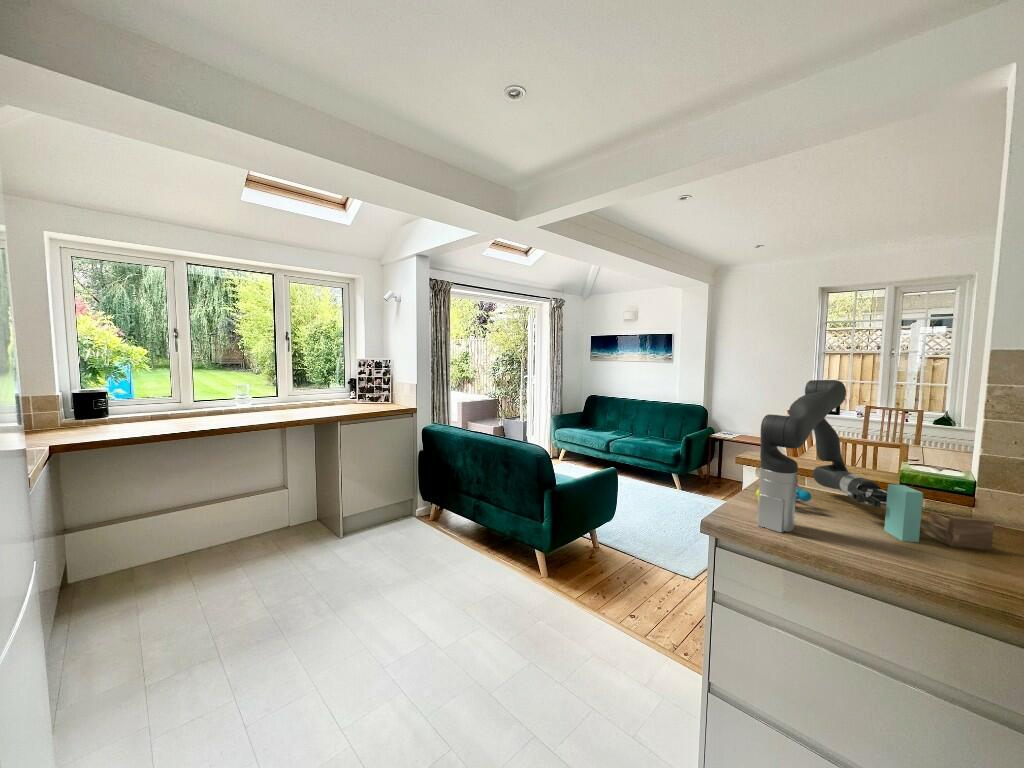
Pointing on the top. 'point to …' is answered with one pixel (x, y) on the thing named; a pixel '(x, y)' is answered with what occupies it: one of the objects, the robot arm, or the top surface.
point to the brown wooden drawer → (960, 531)
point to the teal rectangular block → (903, 512)
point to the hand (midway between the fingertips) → (896, 505)
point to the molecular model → (801, 494)
